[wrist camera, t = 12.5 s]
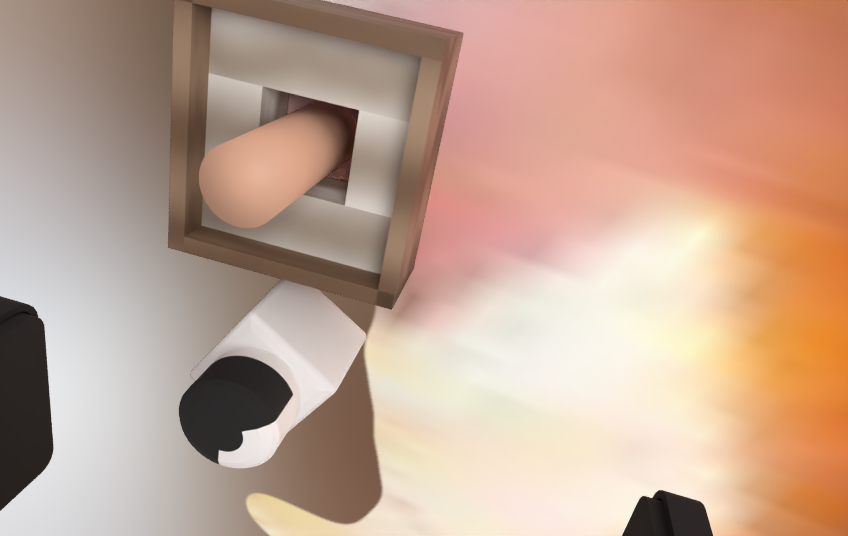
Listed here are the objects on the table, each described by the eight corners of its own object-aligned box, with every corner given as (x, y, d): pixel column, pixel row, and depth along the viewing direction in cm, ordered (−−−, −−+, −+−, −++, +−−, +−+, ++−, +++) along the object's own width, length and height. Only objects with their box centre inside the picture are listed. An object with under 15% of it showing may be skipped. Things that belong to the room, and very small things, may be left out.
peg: (301, 93, 39) (200, 133, 28) (363, 109, 38) (285, 154, 27) (294, 156, 40) (197, 216, 30) (353, 171, 40) (277, 237, 29)
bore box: (231, -21, 37) (174, -23, 31) (463, 33, 35) (446, 40, 30) (217, 215, 43) (168, 247, 38) (413, 268, 42) (391, 309, 36)
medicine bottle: (237, 323, 46) (139, 423, 36) (295, 264, 43) (207, 354, 33) (308, 387, 47) (234, 503, 37) (369, 334, 45) (308, 443, 34)
